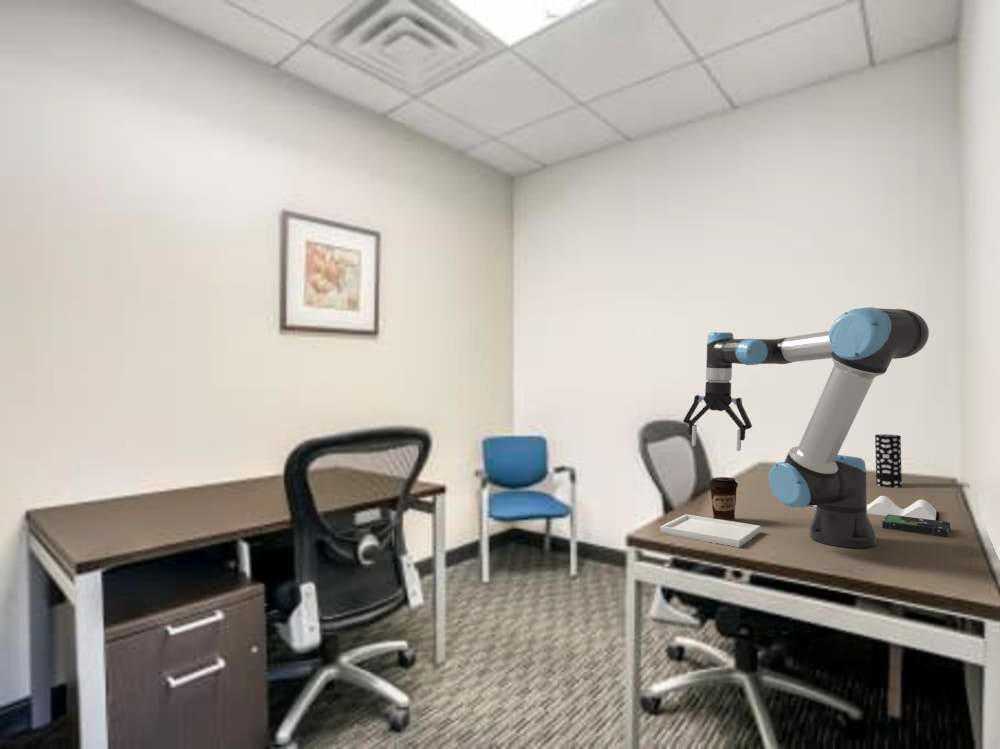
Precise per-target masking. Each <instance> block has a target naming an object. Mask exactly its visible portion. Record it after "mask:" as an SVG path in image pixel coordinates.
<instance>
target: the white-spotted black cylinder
mask: <svg viewBox="0 0 1000 749" xmlns="http://www.w3.org/2000/svg"><path fill="white" fill-rule="evenodd" d="M874 435H875V436H874V444H875V445H874V446H875V448H874V450H875V481H876V483H875V485H877V486H878V487H882V488H883V487H884V488H891V489H892V488H894V489H896V488H902V487H903V485H902V484H903V478H902V476H903V475H902V474H903V473H902V444H901V442H902V438H901V435H900V434H898V435H897V434H888V433H887V434H883V433H881V434H874Z"/></svg>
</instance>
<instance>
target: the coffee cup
mask: <svg viewBox="0 0 1000 749" xmlns="http://www.w3.org/2000/svg"><path fill="white" fill-rule="evenodd" d="M708 485H709V486H710V488H709V489H710V498H711V505H712V506H711V508H712V509H711V510H712V514H713V519H720V520H726V521H733V522H736V515H735V513H736V511H735V510H736V504H737V490H738V485H739V483H738V482H737V481H736V478H735V477H728V476H726V477H725V476H721V477H712V478H711V480H710V481H709V483H708Z"/></svg>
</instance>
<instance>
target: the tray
mask: <svg viewBox="0 0 1000 749" xmlns="http://www.w3.org/2000/svg"><path fill="white" fill-rule="evenodd" d="M761 530H762V529H761V525H758V524H751V523H744V522H739V521H726V520H720V519H714V517H713V518H711V517H705V516H699V515H693V514H687V513H686V514H684V515H683V514H682V515H681V516H679V517H677V518H674V519H673V520H671V521H669V522H666V523H665V524H662V525H661V526H659V534H660V533H661V535H662V534H663V535H665V536H671V537H677V538H683V539H688V540H695V541H698V540H699V541H698V542H704V541H705V543H709V542H712V543H711V544H715V543H719V544H718V545H720V544H724V545H723V546H726V545H730V546H729V547H731V546H735V547H734V548H736V547H740V546H741V547H743V546H744V545H745V543H746V542H747V541H748V542H750V541H751V540H753V539H754V538H756V537H757V536H758V535H760V534H761V533H760V532H761ZM759 533H760V534H759ZM757 534H758V535H757ZM756 535H757V536H756ZM753 537H754V538H753ZM752 538H753V539H752ZM750 539H751V540H750ZM749 540H750V541H749ZM748 542H747V543H748ZM747 543H746V544H747ZM743 544H744V545H743ZM742 545H743V546H742ZM741 547H740V548H741Z"/></svg>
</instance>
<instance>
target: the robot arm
mask: <svg viewBox="0 0 1000 749" xmlns="http://www.w3.org/2000/svg"><path fill="white" fill-rule="evenodd" d="M928 326H929V325H928V324H927V322H926V321H925V319H924V318H923V317H922V316H920V315H919V314H918V313H917V312H914V311H912V310H909V309H903V308H902V309H901V308H881V307H880V308H879V307H877V308H876V307H874V306H873V307H871V306H870V307H869V306H867V307H861V308H860V307H859V308H853V309H850V310H847V311H845V312H844V313H842V314H841V315H840V316H837V318H836V319H835V321H834V322H833V324H832V325H831V327H830V330H828V331H821V332H813V333H807V334H800V335H796V336H795V335H793V336H788V337H782V338H772V339H771V338H770V339H769V338H734V334H733V333H732V332H720V331H719V332H715V331H714V332H712V331H711V332H709V333H708V335H707V341H706V368H705V370H706V371H705V380H707V381H706V382H705V390H704V391H705V393H704V395H700V394H696V395H694V399H693V402H692V405H691V406H690V408H689V410H688V411H687V412H686V415H685V416H684V419H683V420H682V421H683V423H685V424H687V425H688V435H690V436H691V446H692V447H695V446H697V428H698V425H697V424H696V423H697V421H699V419H700V418H702V416H703V415H705V414H706V413H707V411H708V410H710V411H712V412H713V411H718V412H726V413H727V415H729V417H730V418H731V420H733V422H734V424H736V425H737V427H738V429H737V434H736V435H737V436H736V437H737V438H736V452H740V451H741V450H742V441H744V440H745V439H746V430H749V429H750V430H751V428H752V427H753V424H752V422H751V421H750V419H749V416H748V414H747V411H746V410H745V407H744V405H743V400H742V399H743V398H742V397H736V398H735V397H734V398H732V383H731V382H730V381H732V376H733V374H732V373H733V372H732V371H733V364H737V365H738V364H740V365H745V366H753V365H757V366H758V365H765V364H766V365H769V364H770V365H772V364H773V365H786V364H787V365H788V364H793V363H796V362H807V361H815V360H817V361H818V360H826V359H831V360H832V361H833V364H834V365H833V368H832V370H831V372H830V373H829V376H828V377H827V378H828V379H827V381H826V383H825V385H824V387H823V390H822V392H821V394H820V396H819V399H818V401H817V404H816V405H815V408H814V410H813V412H812V415H811V417H810V419H809V422H808V424H807V427H806V428H805V431H804V433H803V435H802V437H801V439H800V442H799V444H798V445H796V446H793V447H791V448H790V449H789V451H788V453H787V456H786V457H785V460H784V461H780V462H778V463H775V464H774V465H773V466H772V467H771V468H770V471H769V474H768V481H769V482H768V484H769V487H770V489H771V491H772V493H773V495H774V497H775V498H776V499H777V500H778V502H780V503H782V504H783V505H785V506H787V507H790V508H802V509H803V508H806V507H809V506H814V505H817V508H816V510H815V511H814V512H815V513H814V515H813V518H812V521H811V523H810V527H809V537H810V538H811V540H814V541H817V542H818V543H823V544H824V545H830V546H835V547H842V548H849V549H850V548H853V549H862V548H863V549H865V548H871V547H874V546H875V545H876V544H877V543H876V542H877V541H876V540H877V539H876V533H875V531H874V529H873V526H872V523H871V521H870V520H871V519H870V518H869V516H868V515H869V514H867V505H868V503H867V494H868V493H867V474H868V471H867V468H866V462H865V460H864V459H863V458H861V457H858V456H851V455H850V456H849V455H845V454H843V455H842V454H839V453H840V450H841V449H842V446H843V443H844V442H845V439H846V437H847V436H848V433H849V432H850V430H851V427H852V425H853V423H854V421H855V419H856V417H857V415H858V413H859V410H860V409H861V406H862V405H863V402H864V400H865V398H866V395H867V394H868V393H869V390H870V388H871V386H872V383H873V381H874V380H875V378H876V377H879V376H882V375H884V374H886V373H887V370H888V368H889V367H890V365H891V362H892V360H896V359H904V358H909V357H912V356H914V355H916V354H917V353H919V352H920V351H921V350H922V349H923V348H924V347H925V346H926V345H927V342H928V340H929V337H930V336H929V334H930V332H929V327H928ZM702 401H703V402H704V403H705V404H706V405H705V406H704V407H702V409H701V410H700V411H699V412H698V413H697V414H696V415H695V416H694V417H693V418H692V416H693V415H694V413H695V411H696V409H697V408H698V406H699V404H700V403H702ZM731 403H733V404H734V406H736V408H737V410H738V412H739V414H740V416H741V418H742V420H741V419H740V418H739V416H738V415H737V414H736V413H735V412H734V410H733V409H732V407H731V406H730V405H731ZM691 418H692V419H691ZM742 421H743V422H742Z"/></svg>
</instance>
